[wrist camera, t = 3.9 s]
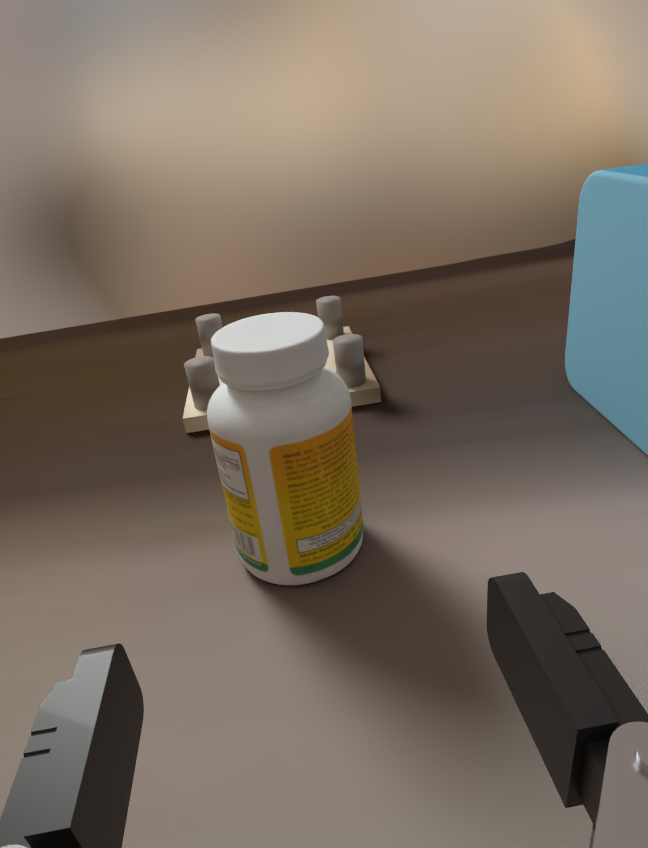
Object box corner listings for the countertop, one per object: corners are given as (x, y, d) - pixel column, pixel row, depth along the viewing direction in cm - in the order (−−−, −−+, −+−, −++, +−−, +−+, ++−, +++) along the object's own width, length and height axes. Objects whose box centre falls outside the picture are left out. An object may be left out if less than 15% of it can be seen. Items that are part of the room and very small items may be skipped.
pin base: (349, 338, 46) (345, 291, 44) (381, 402, 35) (376, 343, 33) (200, 361, 45) (189, 314, 43) (186, 433, 35) (171, 375, 33)
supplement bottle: (219, 583, 23) (159, 360, 18) (264, 502, 27) (225, 308, 23) (350, 597, 21) (320, 359, 17) (375, 510, 26) (357, 302, 21)
